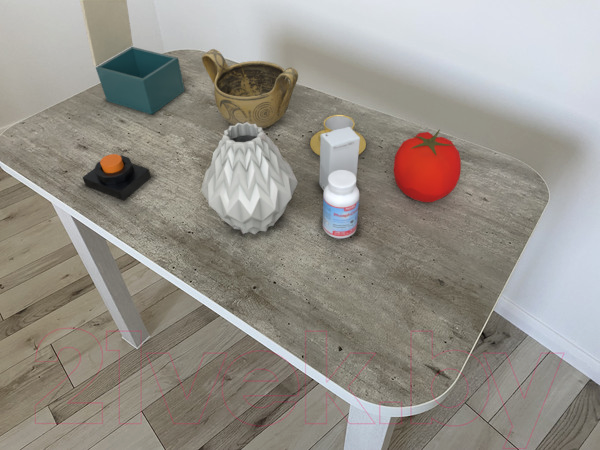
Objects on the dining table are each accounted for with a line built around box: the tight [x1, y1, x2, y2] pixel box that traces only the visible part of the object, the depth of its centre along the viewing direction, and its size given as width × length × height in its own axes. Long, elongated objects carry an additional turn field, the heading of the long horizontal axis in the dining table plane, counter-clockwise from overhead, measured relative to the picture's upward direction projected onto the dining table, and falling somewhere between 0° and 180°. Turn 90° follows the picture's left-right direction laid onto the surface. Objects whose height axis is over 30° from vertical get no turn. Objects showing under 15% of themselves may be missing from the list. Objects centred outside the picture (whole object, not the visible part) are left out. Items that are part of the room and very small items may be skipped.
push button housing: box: [81, 154, 152, 202], centre depth 95 cm, size 10×8×4 cm
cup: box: [309, 114, 367, 157], centre depth 102 cm, size 12×12×5 cm
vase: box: [200, 122, 299, 235], centre depth 82 cm, size 16×16×18 cm
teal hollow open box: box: [95, 46, 186, 115], centre depth 118 cm, size 15×13×9 cm
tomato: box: [393, 129, 462, 203], centre depth 88 cm, size 12×13×12 cm
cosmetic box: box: [318, 127, 360, 191], centre depth 90 cm, size 6×4×12 cm
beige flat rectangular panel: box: [79, 0, 134, 67], centre depth 111 cm, size 15×13×1 cm
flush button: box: [99, 153, 124, 173], centre depth 94 cm, size 4×4×2 cm
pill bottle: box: [322, 170, 360, 239], centre depth 82 cm, size 6×6×11 cm
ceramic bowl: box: [201, 48, 299, 130], centre depth 106 cm, size 22×17×15 cm
